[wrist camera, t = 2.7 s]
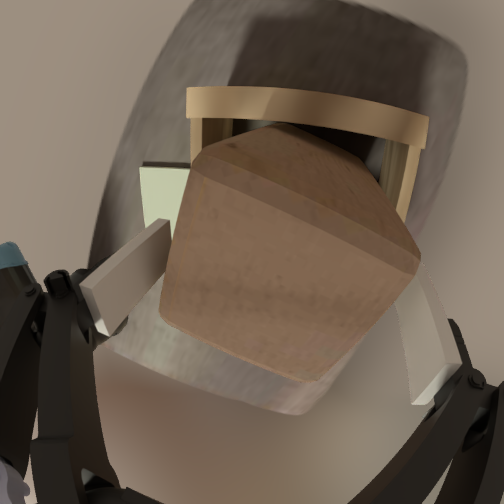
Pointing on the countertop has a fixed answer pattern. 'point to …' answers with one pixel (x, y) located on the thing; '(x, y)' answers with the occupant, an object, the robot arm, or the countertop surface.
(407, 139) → the crate
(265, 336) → the wooden block
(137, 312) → the countertop surface
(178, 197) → the mat
